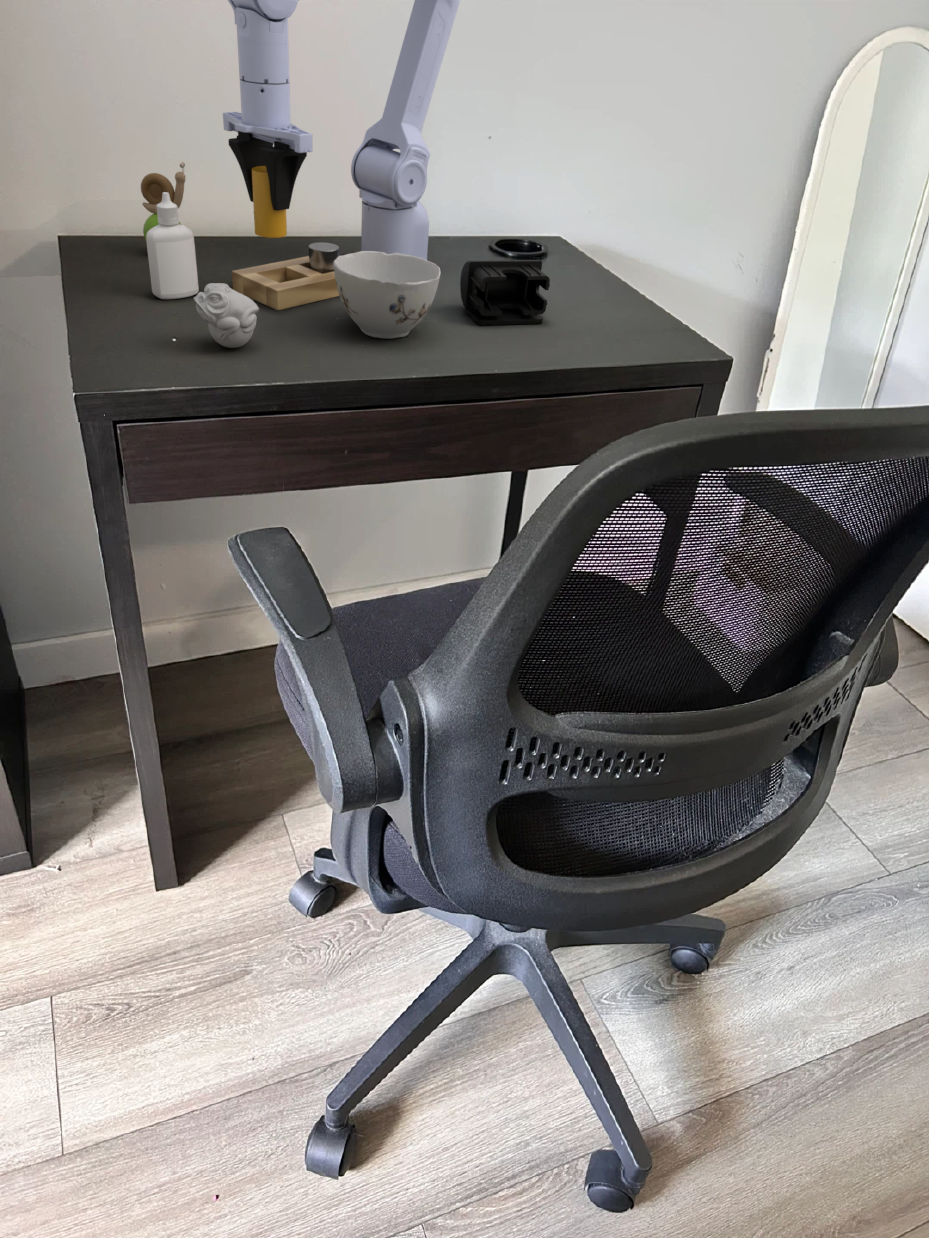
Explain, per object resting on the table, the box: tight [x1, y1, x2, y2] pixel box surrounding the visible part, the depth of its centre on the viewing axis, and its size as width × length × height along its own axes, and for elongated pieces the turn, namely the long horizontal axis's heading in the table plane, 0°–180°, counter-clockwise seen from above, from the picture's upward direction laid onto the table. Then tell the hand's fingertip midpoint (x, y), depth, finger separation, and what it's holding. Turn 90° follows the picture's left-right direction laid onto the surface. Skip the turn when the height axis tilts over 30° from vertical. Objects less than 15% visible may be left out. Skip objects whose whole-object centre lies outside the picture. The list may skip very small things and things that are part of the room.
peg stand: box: [231, 255, 340, 311], centre depth 121 cm, size 9×16×2 cm, turn 138°
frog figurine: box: [193, 282, 260, 349], centre depth 102 cm, size 6×7×7 cm
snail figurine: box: [140, 161, 187, 243], centre depth 126 cm, size 5×6×12 cm
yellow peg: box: [252, 166, 288, 239], centre depth 115 cm, size 4×4×8 cm
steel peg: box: [308, 241, 340, 274], centre depth 123 cm, size 4×4×5 cm
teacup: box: [334, 250, 442, 340], centre depth 111 cm, size 15×12×8 cm
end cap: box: [459, 259, 551, 326], centre depth 118 cm, size 10×7×7 cm
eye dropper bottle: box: [145, 192, 200, 300], centre depth 112 cm, size 4×6×12 cm
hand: (269, 205), depth 115 cm, fingers closed on yellow peg, 4 cm apart
